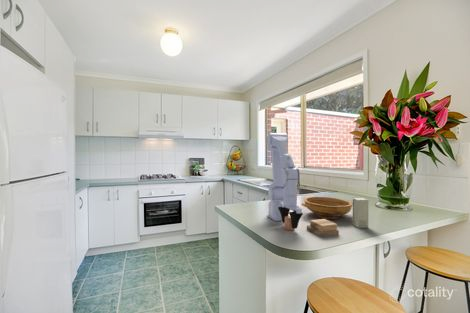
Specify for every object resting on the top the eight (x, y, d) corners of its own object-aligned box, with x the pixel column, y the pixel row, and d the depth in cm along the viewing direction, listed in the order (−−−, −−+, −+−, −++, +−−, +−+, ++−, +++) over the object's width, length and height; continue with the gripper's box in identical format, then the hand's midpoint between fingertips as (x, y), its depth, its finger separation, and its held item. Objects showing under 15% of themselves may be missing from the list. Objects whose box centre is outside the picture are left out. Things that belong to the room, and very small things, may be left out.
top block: (310, 225, 96) (310, 220, 96) (324, 224, 98) (324, 218, 98) (321, 231, 89) (321, 225, 89) (336, 230, 91) (336, 224, 91)
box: (362, 224, 104) (363, 197, 104) (368, 228, 100) (369, 199, 100) (351, 224, 104) (352, 197, 104) (357, 228, 100) (357, 199, 99)
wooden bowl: (315, 224, 104) (316, 207, 104) (291, 211, 128) (291, 197, 128) (368, 220, 111) (368, 205, 111) (335, 208, 134) (336, 195, 134)
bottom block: (306, 231, 97) (306, 225, 97) (323, 229, 100) (323, 223, 100) (320, 238, 88) (320, 232, 88) (338, 236, 91) (338, 230, 91)
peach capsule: (282, 227, 99) (282, 216, 99) (291, 226, 101) (291, 215, 101) (288, 230, 95) (288, 219, 95) (296, 229, 97) (296, 218, 96)
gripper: (274, 192, 103) (273, 221, 104) (291, 198, 90) (290, 231, 90) (287, 191, 106) (286, 220, 106) (306, 197, 92) (305, 230, 92)
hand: (289, 225), depth 98 cm, fingers open, 7 cm apart
